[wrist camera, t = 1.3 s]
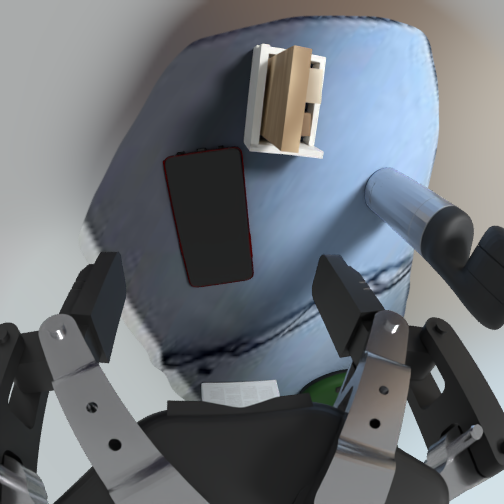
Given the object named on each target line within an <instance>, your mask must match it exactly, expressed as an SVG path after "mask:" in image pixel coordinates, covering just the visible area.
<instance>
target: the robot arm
mask: <svg viewBox="0 0 504 504" xmlns="http://www.w3.org/2000/svg"><path fill="white" fill-rule="evenodd" d="M365 200H366V203H367V205H368V207H369V208H370V209H371V210H372V211H373V212H374V213H375V214H377V215H378V216H379V217H380V218H381V219H382V220H383V221H384V222H386V223H387V224H388V225H389V226H390V227H391V228H392V229H393V230H394V231H396V232H397V233H398V234H399V235H400V236H401V237H402V238H403V239H404V240H405V241H406V242H407V243H408V244H410V245H411V246H412V247H413V248H414V249H415V250H416V251H417V252H418V253H419V254H420V255H421V256H422V257H423V258H424V259H425V260H426V261H427V262H428V263H429V264H430V265H431V266H432V267H433V268H434V269H435V271H437V273H438V274H439V275H440V276H441V277H442V278H443V279H444V280H445V282H446V283H447V284H448V285H449V286H450V288H451V289H452V290H453V291H454V292H455V294H456V295H457V297H458V298H459V299H460V300H461V302H462V303H463V304H464V306H465V307H466V308H467V309H468V311H469V312H470V313H471V314H472V315H473V316H474V317H475V318H476V319H477V320H478V322H480V323H481V324H482V325H483V326H485V327H487V328H489V329H492V330H496V329H499V328H501V327H502V326H503V324H504V228H502V227H499V226H492V227H490V228H489V229H488V230H487V231H486V232H485V234H484V235H483V237H482V238H481V240H480V242H479V243H478V245H479V246H478V245H477V247H476V248H475V250H474V252H473V253H472V255H471V256H470V258H469V255H470V250H471V246H472V241H473V235H474V228H473V223H472V220H471V219H470V217H469V216H468V215H467V214H466V213H465V212H464V211H462V210H461V209H459V208H458V207H457V206H455V205H453V204H452V203H450V202H449V201H447V200H446V199H444V198H442V197H441V196H439V195H438V194H436V193H435V192H433V191H432V190H430V189H428V188H427V187H425V186H423V185H422V184H420V183H418V182H417V181H415V180H413V179H411V178H410V177H408V176H406V175H404V174H403V173H401V172H399V171H397V170H395V169H393V168H383V169H380V170H378V171H376V172H375V173H374V174H373V175H372V176H371V177H370V179H369V181H368V183H367V185H366V188H365ZM312 296H313V300H314V302H315V304H316V306H317V308H318V310H319V313H320V315H321V317H322V319H323V321H324V324H325V326H326V328H327V330H328V332H329V335H330V337H331V339H332V341H333V343H334V346H335V348H336V350H337V352H338V355H339V357H340V358H341V357H348V356H351V358H352V362H351V363H350V365H349V368H348V371H347V374H346V376H345V379H344V382H343V384H342V387H341V389H340V392H339V394H338V397H337V399H336V401H335V403H334V405H333V407H332V406H330V405H326V404H323V403H317V402H312V400H311V396H310V393H303V394H296V395H288V396H279V397H274V398H271V399H268V400H265V401H262V402H259V403H256V404H253V405H250V406H246V407H233V406H227V405H221V404H216V403H211V402H206V401H167V410H165V411H161V412H157V413H154V414H152V415H149V416H147V417H145V418H143V419H142V420H140V421H138V422H136V421H135V420H134V418H133V417H132V415H131V414H130V413H129V411H128V410H127V408H126V407H125V406H124V404H123V403H122V401H121V399H120V398H119V396H118V395H117V393H116V392H115V390H114V389H113V387H112V385H111V384H110V383H109V381H108V379H107V377H106V376H105V374H104V372H103V371H102V369H101V367H100V366H99V362H101V363H109V361H110V356H111V352H112V348H113V344H114V340H115V336H116V332H117V328H118V324H119V321H120V317H121V313H122V310H123V306H124V303H125V299H126V283H125V277H124V272H123V266H122V260H121V255H120V253H119V252H100V254H99V256H98V258H97V259H96V261H95V263H94V264H89V265H87V266H86V267H85V268H84V269H83V270H82V271H80V273H79V275H78V277H77V279H76V282H75V283H74V284H73V287H72V290H70V292H69V294H68V296H67V298H66V300H65V302H64V304H63V306H62V309H61V310H60V313H59V314H57V315H53V316H51V317H49V318H47V319H46V320H45V321H44V322H43V323H42V325H41V326H40V328H39V331H34V332H28V333H22V334H21V333H20V332H19V330H18V328H17V326H16V325H15V324H13V323H3V324H0V504H49V503H48V501H47V493H46V491H45V487H44V484H43V482H42V480H41V479H40V477H39V476H38V475H37V474H36V473H37V461H38V452H39V443H40V437H41V430H42V424H43V418H44V413H45V407H46V403H47V398H48V394H49V391H52V390H54V391H55V393H56V396H57V398H58V400H59V403H60V405H61V407H62V409H63V411H64V414H65V416H66V418H67V420H68V422H69V424H70V426H71V428H72V430H73V432H74V434H75V436H76V437H77V439H78V441H79V443H80V445H81V447H82V448H83V450H84V452H85V454H86V456H87V457H88V459H89V461H90V462H91V464H92V467H91V468H90V469H89V470H88V471H87V472H86V473H85V474H84V475H83V476H82V477H81V478H80V479H79V480H78V481H77V482H76V483H75V484H74V485H73V486H71V487H70V488H69V489H68V490H67V491H66V492H65V493H64V494H63V495H62V496H61V497H60V498H59V499H58V500H57V501H55V502H54V504H449V501H451V500H452V499H454V498H456V497H457V496H459V495H460V494H462V493H464V492H465V491H467V490H469V489H471V488H473V487H475V486H477V485H479V484H480V483H482V482H484V481H486V480H487V479H489V478H491V477H493V476H494V475H496V474H498V473H499V472H501V471H502V470H504V412H503V410H502V408H501V406H500V405H499V403H498V401H497V399H496V397H495V395H494V394H493V392H492V390H491V388H490V386H489V385H488V383H487V382H486V380H485V378H484V376H483V375H482V373H481V371H480V370H479V368H478V367H477V365H476V363H475V362H474V360H473V358H472V357H471V355H470V354H469V352H468V351H467V349H466V347H465V346H464V345H463V343H462V341H461V340H460V339H459V337H458V335H457V334H456V333H455V331H454V330H453V328H452V327H451V326H450V325H449V324H448V323H447V322H446V321H444V320H442V319H440V318H435V317H432V318H429V319H428V320H427V322H426V323H425V325H424V327H417V326H409V325H408V323H407V321H406V320H405V319H404V318H403V317H402V316H401V315H399V314H398V313H396V312H393V311H389V310H385V309H384V307H383V306H382V304H381V303H380V301H379V300H378V299H377V297H376V296H375V294H374V293H373V291H372V290H371V289H370V287H369V286H368V284H367V283H365V280H364V279H363V277H362V276H361V274H360V273H359V272H357V271H356V270H355V269H353V268H352V267H351V266H348V265H347V264H346V262H345V261H344V260H343V258H342V257H341V256H340V255H321V257H320V259H319V262H318V266H317V270H316V274H315V277H314V281H313V285H312ZM435 365H436V366H437V368H438V370H439V371H440V373H441V375H442V377H443V379H444V381H445V389H444V391H443V393H442V394H441V392H440V390H439V388H438V386H437V384H436V382H435V380H434V378H433V377H432V375H431V373H430V371H431V370H432V369H433V368H434V366H435ZM13 382H14V387H13V390H12V394H11V397H10V401H9V404H8V398H9V394H10V390H11V387H12V384H13ZM406 401H408V403H409V405H410V407H411V409H412V412H413V414H414V417H415V419H416V421H417V424H418V426H419V429H420V431H421V434H422V436H423V438H424V441H425V444H426V446H427V449H428V453H427V460H425V462H424V463H423V462H421V461H419V460H418V459H416V458H414V457H413V456H411V455H409V454H408V453H406V452H404V451H403V450H401V449H400V448H398V447H397V443H398V439H399V435H400V431H401V426H402V421H403V417H404V412H405V406H406Z"/></svg>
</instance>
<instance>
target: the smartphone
mask: <svg viewBox="0 0 504 504" xmlns="http://www.w3.org/2000/svg"><path fill="white" fill-rule="evenodd" d="M239 150H240V148H238V147H226V148H223V146H219V148H218V149H211V150H206V149H205V148H203V149H197V152H191V153H185V152H178V153H179V154H181V155H173V156H169V157H167V158H166V159H165V160H166V161H165V160H164V161H163V165H164V170H165V176H166V181H167V186H168V184H169V186H168V191H169V189H170V191H169V196H170V194H171V196H170V201H171V199H172V201H171V206H172V204H173V206H172V210H173V209H174V210H173V215H174V214H175V215H174V220H175V219H176V220H175V224H176V223H177V224H176V229H177V228H178V229H177V233H178V232H179V233H178V238H179V237H180V238H179V242H180V241H181V242H180V249H181V253H182V256H183V259H184V258H185V259H184V263H185V262H186V263H185V267H186V271H187V275H188V279H189V283H190V284H191V286H193V287H204V286H211V285H219V284H226V283H232V282H239V281H245V280H249V279H251V278H252V277H253V274H254V271H253V273H252V269H253V261H252V263H251V259H252V257H253V255H252V245H251V234H250V230H249V233H248V228H249V219H248V223H247V217H248V209H247V212H246V207H247V198H246V202H245V196H246V188H245V192H244V186H245V177H244V182H243V175H244V167H243V172H242V165H243V156H242V161H241V154H242V151H241V150H240V151H241V153H240V151H239ZM178 153H177V154H178ZM182 153H185V154H182ZM166 173H167V174H166Z"/></svg>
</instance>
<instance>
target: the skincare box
mask: <svg viewBox="0 0 504 504" xmlns="http://www.w3.org/2000/svg"><path fill="white" fill-rule="evenodd" d="M201 393H202V401H206V402H211V403H216V404H221V405H227V406H233V407H246V406H250V405H253V404H256V403H259V402H262V401H265V400H268V399H271V398H274V397H279V396H280V394H279V390H278V386H277V382H276V380H268V381H252V382H231V383H202V384H201Z"/></svg>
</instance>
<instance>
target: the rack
mask: <svg viewBox="0 0 504 504" xmlns="http://www.w3.org/2000/svg"><path fill="white" fill-rule="evenodd" d="M284 50H286V49H281V48H274V47H270V45H268V44H261V45H260V46H259V45H257V46H256V47H255V48H254V50H253V58H252V67H251V76H250V85H249V94H248V104H247V113H246V123H245V133H244V144H245V145H246V147H247V148H248V149H249V151H251V152H264V153H276V154H287V155H296V156H305V157H313V158H321V159H322V158H323V153H324V152H323V151H321V150H320V149H318V148H316V147H314V141H315V135H316V128H317V122H318V115H319V108H320V104H317V103H308V107H307V113H311V134H310V136H303V142H300V145H299V152H298V153H292V152H283V151H280V150H279V149H278V148H276V147H275V146H274V145H273V144H271V143H270V142H269V141H268V140H267V139H265V138H262V137H259V136H260V127H261V118H262V109H263V100H264V92H265V83H266V74H267V66H268V57H269V56H270V57H273V56H275V55H276V54H278V53H280V52H282V51H284ZM325 62H326V58H325V57H321V56H317V55H311V64H313V68H315V69H322V70H323V77H322V86H323V78H324V71H325Z"/></svg>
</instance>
